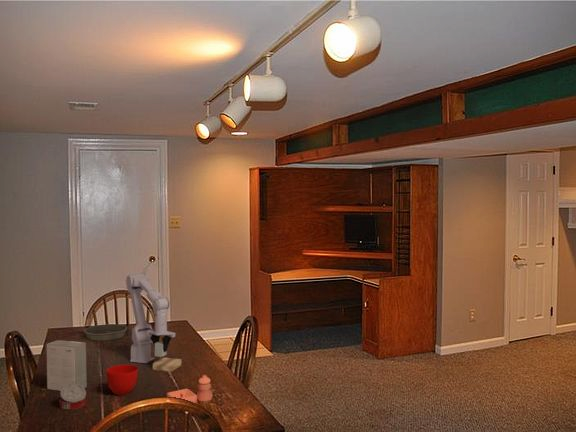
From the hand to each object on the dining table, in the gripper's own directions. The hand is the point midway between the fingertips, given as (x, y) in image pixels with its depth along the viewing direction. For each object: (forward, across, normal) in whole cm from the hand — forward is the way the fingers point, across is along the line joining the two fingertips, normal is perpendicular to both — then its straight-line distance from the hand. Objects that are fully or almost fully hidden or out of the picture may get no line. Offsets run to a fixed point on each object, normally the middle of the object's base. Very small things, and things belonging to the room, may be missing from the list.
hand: (161, 350), depth 268 cm
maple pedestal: (+9, +2, +3) cm, 9 cm away
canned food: (+9, -9, -51) cm, 53 cm away
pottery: (+9, +34, -33) cm, 48 cm away
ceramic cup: (+9, -1, -32) cm, 33 cm away
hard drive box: (+9, -25, -37) cm, 45 cm away
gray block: (+2, 0, 0) cm, 2 cm away
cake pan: (+10, -64, +44) cm, 78 cm away
